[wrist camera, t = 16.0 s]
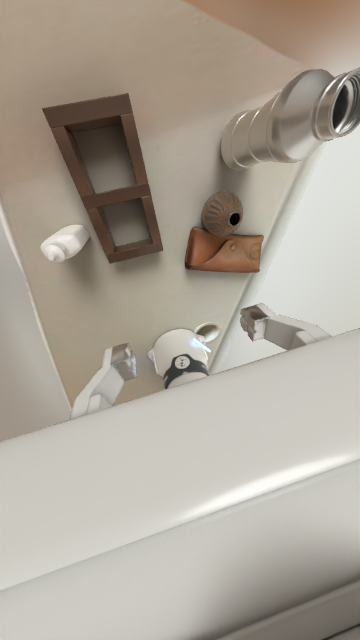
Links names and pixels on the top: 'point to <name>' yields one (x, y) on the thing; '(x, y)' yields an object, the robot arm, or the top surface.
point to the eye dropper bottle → (65, 243)
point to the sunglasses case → (223, 252)
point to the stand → (62, 126)
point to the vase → (222, 213)
